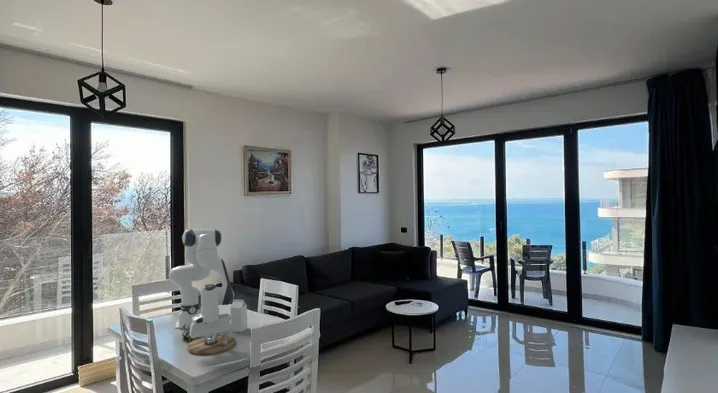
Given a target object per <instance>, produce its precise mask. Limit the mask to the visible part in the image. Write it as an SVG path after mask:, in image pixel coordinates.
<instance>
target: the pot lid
mask: <svg viewBox="0 0 718 393" xmlns="http://www.w3.org/2000/svg"><path fill="white" fill-rule="evenodd" d="M204 337H205V336H204ZM212 337H213V334H212V335H209V337H208V339H212ZM216 343H218V336H216V337H215V339H214V342H213V343H209V344H208V340H207V338H206V337H205V338H204V344H205V345H214V344H216Z"/></svg>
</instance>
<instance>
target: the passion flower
mask: <svg viewBox="0 0 718 393" xmlns="http://www.w3.org/2000/svg"><path fill="white" fill-rule="evenodd" d="M190 325H191V324H190ZM190 325H189V326H188V327H187V328H185V326H186V324H185V325H184V326H183V327H182V328H180V331H182V330H183V328H185V329H184V331H183V332H182V333H181V336H182V338H181V340H186V338H187V340H188V342H189V343H190V342H192V341H194V340H196V339H198V337H196V338H191V337H190Z"/></svg>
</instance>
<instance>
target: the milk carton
mask: <svg viewBox="0 0 718 393" xmlns="http://www.w3.org/2000/svg"><path fill="white" fill-rule="evenodd" d="M231 303H232V304H230V308H229V309H230V316H231V319H230V326H231V329H230V332H232V333H233V332H234V333H235V332H236V333H243V332H244V331H246V330H247V329H248V308H247V307H248V304H247V303H246V302H245V299H234V300H233V301H232V302H231Z"/></svg>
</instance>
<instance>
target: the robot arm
mask: <svg viewBox="0 0 718 393" xmlns="http://www.w3.org/2000/svg"><path fill="white" fill-rule="evenodd" d="M181 239H182V244H183V246H185V247H186V248H185V252H184V259H185V261H186V262H188V263H189V264H186V265H185V264H184V265H178V266H176V267H172V268H171V269H170V271H169V273H168V279H169V281H170V282H171V283H172V284H174V285H175V286H177V288H178V289H179V292H180V298H181V299H180V300H181V304H180V312H179V314H178V315H176V320H177V321H176V323H175V329H181V328H182V327H183V326H184V325H185V324H186V326H185V328H187V327H188V326H189V325H190V324H191V325H190V333H189V334H190V337H191V338H196V337H197V338H202V337H206V338H207V340H208V344H209V343H213V342H214V339H215V337H216V335H218V334H223V333H226V332H231V314H229V313H223V314H222V313H221V314H220V308H219V306H229V305H231V303H233V300H234V298H235V293H234V290H233V287H232V284H231V281H230V278H229V277H230V276H229V274H228V273H229V272H228V269H227V267H226V263H225V261H224V259H221V257H220V256H219V255H218V247H219V245H221V242H222V233H221V231H219V230H218V229H210V228H209V229H208V228H195V229H194V228H189V229H186V230H184V231H183V234H182V237H181ZM211 270H212V271H214V272H217V273H218V274H219V277H220V280H221V284H222V286H220V287H219V286H217V285H216V284H214V283H212V284H211V283H210V284H205V285H203V286H202V287H201V290H199V288H197V287H195V286H192V282H198V281H203V280H206V279H208V278H209V277H210V275H211V272H212V271H211ZM185 328H183V329H184V330H185ZM183 329H182V330H183ZM210 335H213V337H212V339H208V337H209V336H210Z"/></svg>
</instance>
